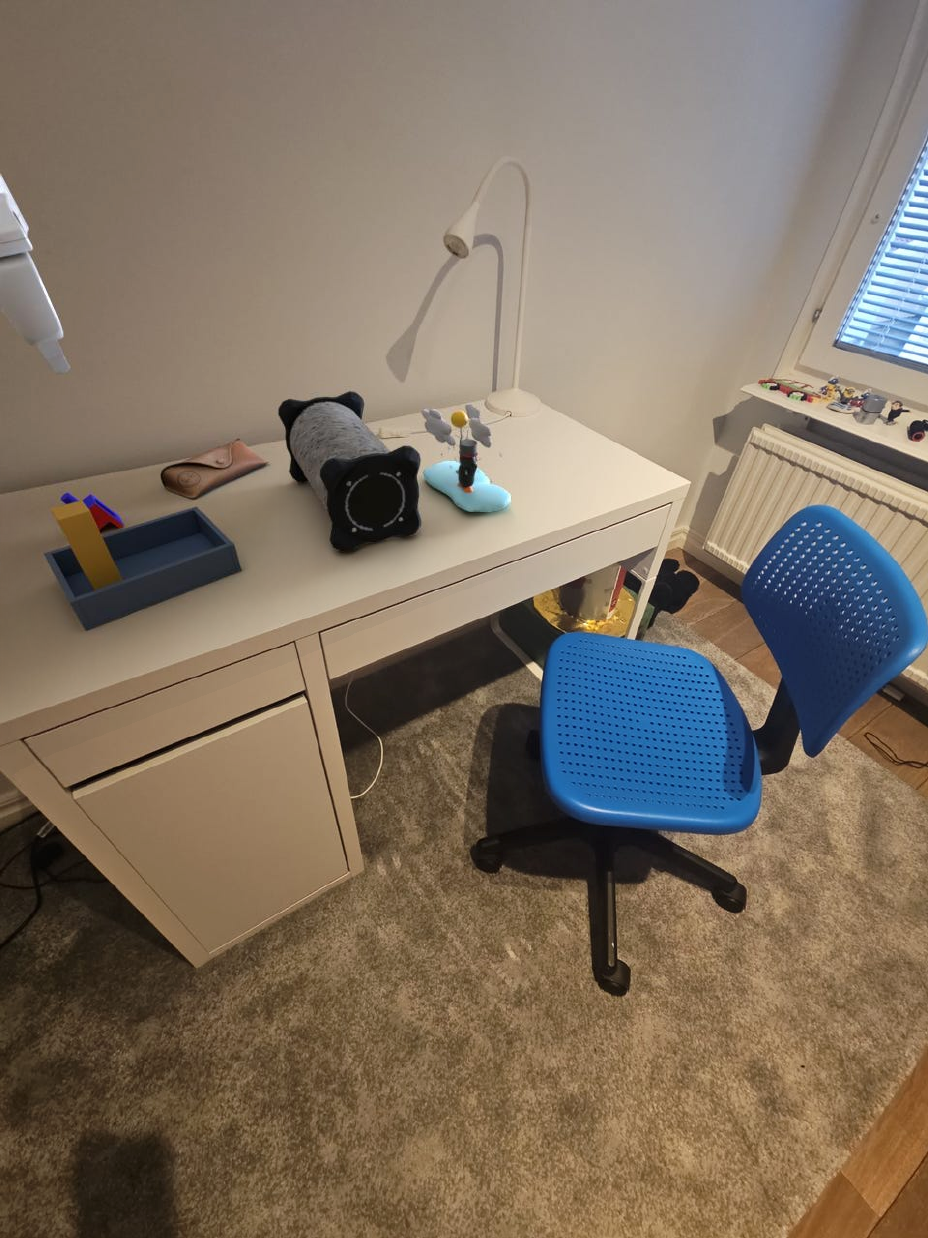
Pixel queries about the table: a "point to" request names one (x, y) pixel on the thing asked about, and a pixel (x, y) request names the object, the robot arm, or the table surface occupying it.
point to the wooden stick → (87, 544)
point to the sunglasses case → (210, 469)
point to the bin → (148, 566)
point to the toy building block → (96, 510)
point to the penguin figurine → (464, 463)
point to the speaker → (352, 470)
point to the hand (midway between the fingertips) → (51, 356)
